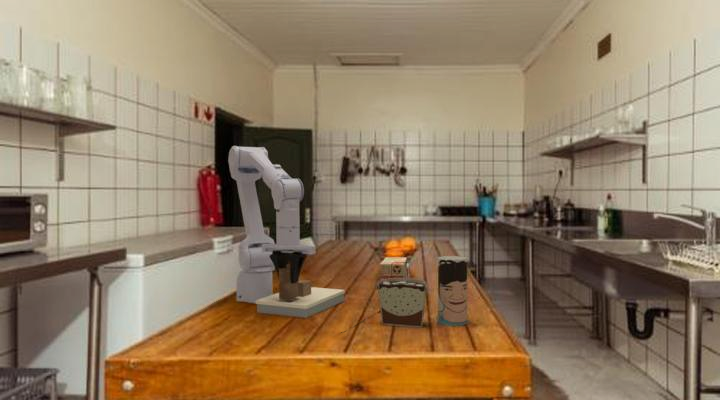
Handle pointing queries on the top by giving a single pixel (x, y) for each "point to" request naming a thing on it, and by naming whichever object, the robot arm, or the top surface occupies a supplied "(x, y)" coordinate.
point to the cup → (452, 290)
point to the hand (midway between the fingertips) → (288, 282)
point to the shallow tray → (299, 311)
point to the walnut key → (287, 284)
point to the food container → (402, 301)
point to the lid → (303, 296)
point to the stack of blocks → (394, 268)
